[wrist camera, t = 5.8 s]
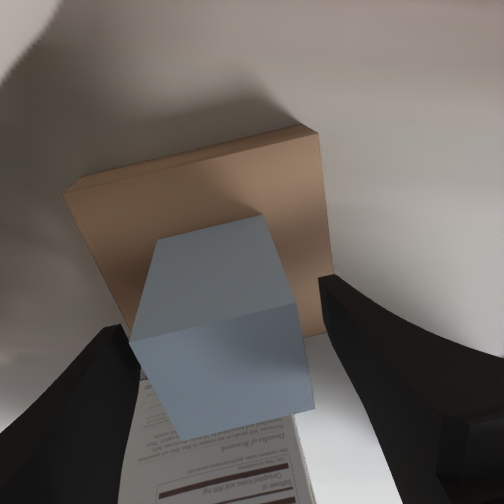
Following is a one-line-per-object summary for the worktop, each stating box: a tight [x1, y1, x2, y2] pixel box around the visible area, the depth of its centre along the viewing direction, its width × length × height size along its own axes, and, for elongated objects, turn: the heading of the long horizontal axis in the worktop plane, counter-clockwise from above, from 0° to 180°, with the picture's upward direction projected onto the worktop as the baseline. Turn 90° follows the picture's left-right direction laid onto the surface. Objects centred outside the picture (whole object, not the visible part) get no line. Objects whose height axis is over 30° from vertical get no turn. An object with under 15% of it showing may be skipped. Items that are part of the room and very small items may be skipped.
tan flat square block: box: [61, 124, 333, 338], centre depth 17 cm, size 10×10×3 cm
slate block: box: [129, 214, 316, 441], centre depth 13 cm, size 4×4×6 cm
